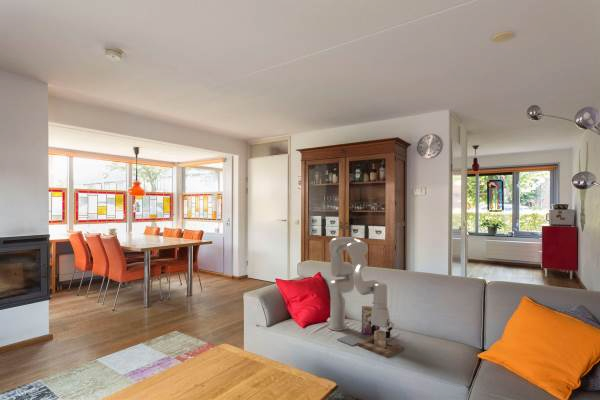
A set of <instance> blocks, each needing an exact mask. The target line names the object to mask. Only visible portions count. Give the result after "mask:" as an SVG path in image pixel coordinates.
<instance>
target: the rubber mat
mask: <svg viewBox="0 0 600 400" xmlns="http://www.w3.org/2000/svg"><path fill="white" fill-rule="evenodd" d="M364 339H365V338H364ZM364 339H363V338H361V337H358V336H356V335H353V334H351V333H350V334H346V335H344V336H340V337H339V338H336V341H338V342H341V343H344V344H345V345H348V346H350V347H354V346H357V342H359V341H361V340H364Z"/></svg>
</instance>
